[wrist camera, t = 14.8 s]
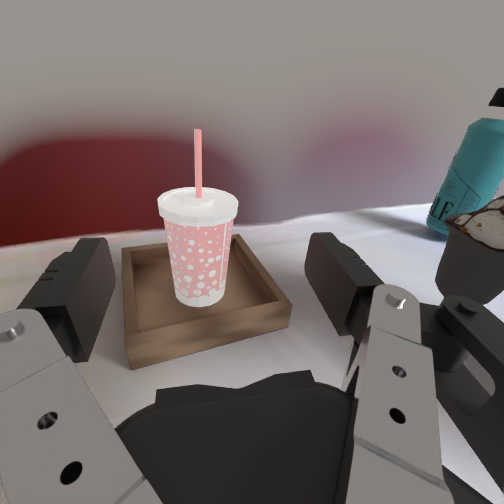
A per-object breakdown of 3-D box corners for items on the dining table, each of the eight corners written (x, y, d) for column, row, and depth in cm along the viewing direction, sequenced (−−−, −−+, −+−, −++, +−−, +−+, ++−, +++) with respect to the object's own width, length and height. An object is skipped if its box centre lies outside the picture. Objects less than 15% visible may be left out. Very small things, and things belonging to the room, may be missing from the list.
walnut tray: (237, 252, 33) (238, 234, 32) (287, 327, 24) (292, 305, 22) (125, 269, 29) (121, 248, 27) (131, 370, 19) (125, 345, 18)
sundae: (426, 362, 22) (549, 176, 14) (384, 304, 28) (455, 148, 20) (499, 360, 23) (654, 183, 15) (444, 304, 28) (534, 155, 20)
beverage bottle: (475, 242, 42) (565, 91, 31) (452, 251, 39) (543, 86, 28) (434, 224, 46) (500, 88, 36) (410, 230, 43) (475, 83, 33)
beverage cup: (201, 264, 29) (199, 121, 22) (245, 289, 26) (260, 134, 19) (152, 291, 25) (129, 124, 18) (198, 324, 22) (195, 141, 15)
